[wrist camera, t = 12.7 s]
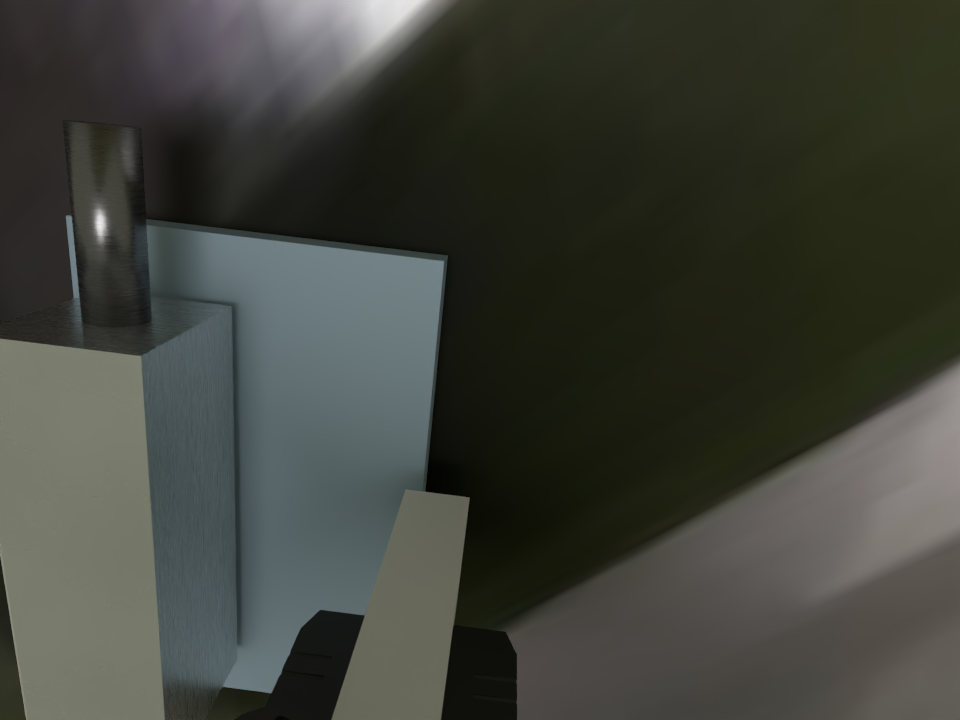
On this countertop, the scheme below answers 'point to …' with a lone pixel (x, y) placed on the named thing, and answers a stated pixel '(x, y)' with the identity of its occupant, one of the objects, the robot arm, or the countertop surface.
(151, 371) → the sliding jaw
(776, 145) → the countertop surface
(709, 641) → the countertop surface
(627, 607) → the countertop surface
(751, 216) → the countertop surface
